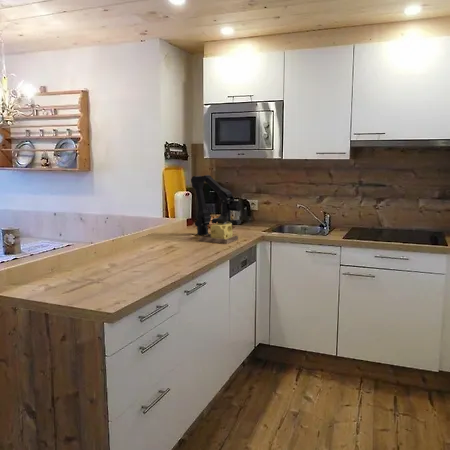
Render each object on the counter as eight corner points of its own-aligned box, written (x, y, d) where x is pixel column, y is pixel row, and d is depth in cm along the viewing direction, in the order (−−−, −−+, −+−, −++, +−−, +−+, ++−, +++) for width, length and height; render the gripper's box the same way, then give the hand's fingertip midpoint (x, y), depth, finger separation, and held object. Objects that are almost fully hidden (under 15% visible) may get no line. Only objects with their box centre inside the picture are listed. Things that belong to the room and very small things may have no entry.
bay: (199, 241, 276) (198, 237, 276) (210, 237, 288) (210, 233, 288) (227, 243, 266) (226, 239, 266) (237, 239, 278) (237, 235, 278)
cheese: (224, 242, 272) (224, 226, 270) (209, 240, 277) (209, 224, 276) (232, 239, 281) (232, 223, 279) (218, 237, 286) (218, 222, 284)
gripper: (207, 211, 281) (207, 235, 283) (233, 212, 272) (233, 237, 274) (215, 209, 290) (216, 232, 293) (241, 210, 281) (241, 234, 284)
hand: (226, 234), depth 286 cm, fingers closed, pressing on cheese
